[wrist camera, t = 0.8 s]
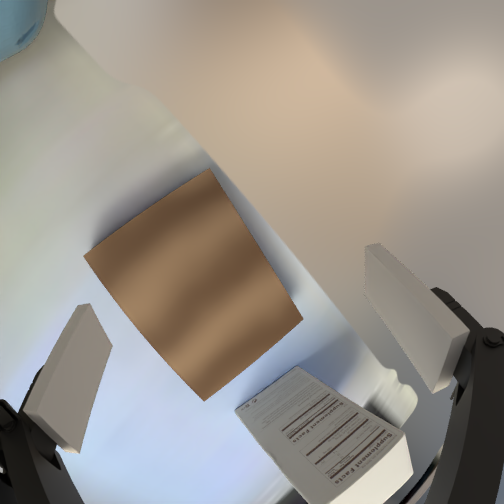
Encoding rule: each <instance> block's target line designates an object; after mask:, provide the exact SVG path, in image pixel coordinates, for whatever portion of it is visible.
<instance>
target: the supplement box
mask: <svg viewBox="0 0 504 504" xmlns="http://www.w3.org/2000/svg"><path fill="white" fill-rule="evenodd" d="M235 413H236V415H237V416H238V418H239V419H240V420H241V422H242V423H243V424H244V425H245V427H246V428H247V429H248V431H249V432H250V433H251V435H252V436H253V437H254V439H255V440H256V441H257V442H258V444H259V445H260V446H261V447H262V449H263V450H264V451H265V452H266V453H267V454H268V455H269V456H270V458H271V459H272V460H273V461H274V462H275V464H276V465H277V466H278V468H279V469H280V470H281V472H282V473H283V474H284V476H285V477H286V478H287V479H288V481H289V482H290V483H291V484H292V485H293V486H294V488H295V489H296V490H297V491H298V492H299V493H300V494H301V496H302V497H303V498H304V499H305V500H306V501H307V502H308V503H309V504H383V503H384V502H385V501H386V500H387V499H388V498H389V497H390V496H392V495H393V494H394V493H395V492H396V491H397V490H398V489H399V488H400V487H401V486H402V485H403V484H404V483H405V482H406V481H407V480H408V479H409V478H410V477H411V476H412V474H413V469H412V464H411V460H410V454H409V450H408V446H407V441H406V436H405V433H404V432H403V431H401V430H399V429H398V428H396V427H394V426H392V425H391V424H389V423H387V422H385V421H384V420H382V419H380V418H379V417H377V416H375V415H373V414H372V413H370V412H369V411H367V410H365V409H364V408H362V407H360V406H359V405H357V404H356V403H354V402H352V401H351V400H349V399H348V398H346V397H344V396H343V395H341V394H340V393H338V392H337V391H335V390H334V389H332V388H330V387H329V386H327V385H326V384H324V383H323V382H321V381H320V380H318V379H317V378H315V377H314V376H312V375H311V374H309V373H308V372H306V371H305V370H303V369H302V368H300V367H299V366H295V367H294V368H293V369H291V370H290V371H289V372H288V373H286V374H285V375H284V376H282V377H281V378H280V379H278V380H277V381H276V382H274V383H273V384H271V385H270V386H269V387H267V388H266V389H265V390H263V391H262V392H260V393H259V394H258V395H256V396H255V397H253V398H252V399H250V400H249V401H248V402H246V403H245V404H243V405H242V406H240V407H239V408H237V409H236V410H235Z"/></svg>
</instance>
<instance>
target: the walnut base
mask: <svg viewBox="0 0 504 504" xmlns="http://www.w3.org/2000/svg"><path fill="white" fill-rule="evenodd" d="M83 257H84V258H85V260H86V261H87V262H88V264H89V265H90V267H91V268H92V270H93V271H94V273H95V274H96V275H97V277H98V278H99V280H100V281H101V282H102V284H103V285H104V287H105V288H106V289H107V291H108V292H109V293H110V295H111V296H112V297H113V299H114V300H115V301H116V303H117V304H118V305H119V306H120V308H121V309H122V310H123V312H124V313H125V314H126V315H127V317H128V318H129V319H130V320H131V322H132V323H133V324H134V325H135V327H136V328H137V329H138V330H139V331H140V333H141V334H142V335H143V336H144V337H145V339H146V340H147V341H148V342H149V343H150V344H151V346H152V347H153V348H154V349H155V350H156V351H157V352H158V354H159V355H160V356H161V357H162V358H163V359H164V360H165V361H166V362H167V364H168V365H169V366H170V367H171V368H172V369H173V370H174V371H175V372H176V373H177V374H178V375H179V376H180V378H181V379H182V380H183V381H184V382H185V383H186V384H187V385H188V386H189V387H190V388H191V389H192V390H193V391H194V392H195V393H196V394H197V395H198V396H199V397H200V398H201V399H202V400H203V401H205V400H207V399H208V398H209V397H211V396H212V395H213V394H215V393H216V392H217V391H219V390H220V389H221V388H222V387H224V386H225V385H226V384H227V383H229V382H230V381H231V380H233V379H234V378H235V377H236V376H238V375H239V374H240V373H241V372H242V371H244V370H245V369H246V368H247V367H249V366H250V365H251V364H252V363H253V362H255V361H256V360H257V359H258V358H259V357H261V356H262V355H263V354H264V353H265V352H267V351H268V350H269V349H270V348H271V347H272V346H274V345H275V344H276V343H277V342H278V341H279V340H281V339H282V338H283V337H284V336H285V335H286V334H287V333H289V332H290V331H291V330H292V329H293V328H294V327H295V326H296V325H298V324H299V323H300V322H301V321H302V320H303V317H302V316H301V314H300V312H299V311H298V309H297V308H296V306H295V304H294V303H293V301H292V299H291V298H290V296H289V295H288V293H287V291H286V290H285V288H284V287H283V285H282V283H281V282H280V280H279V278H278V277H277V275H276V274H275V272H274V270H273V269H272V267H271V265H270V264H269V262H268V261H267V259H266V257H265V256H264V254H263V253H262V251H261V249H260V248H259V246H258V245H257V243H256V241H255V240H254V238H253V237H252V235H251V233H250V232H249V230H248V228H247V227H246V225H245V224H244V222H243V220H242V219H241V217H240V216H239V214H238V212H237V211H236V209H235V208H234V206H233V205H232V203H231V201H230V200H229V198H228V197H227V195H226V193H225V192H224V190H223V189H222V187H221V185H220V184H219V182H218V181H217V179H216V177H215V176H214V174H213V173H212V171H211V170H210V168H209V169H207V170H206V171H204V172H202V173H201V174H199V175H198V176H196V177H194V178H193V179H191V180H190V181H188V182H187V183H185V184H183V185H182V186H180V187H179V188H177V189H176V190H174V191H173V192H171V193H170V194H168V195H167V196H165V197H164V198H162V199H161V200H159V201H158V202H156V203H155V204H153V205H152V206H150V207H149V208H147V209H146V210H145V211H143V212H142V213H140V214H139V215H137V216H136V217H135V218H133V219H132V220H130V221H129V222H128V223H126V224H125V225H123V226H122V227H121V228H119V229H118V230H117V231H115V232H114V233H113V234H111V235H110V236H109V237H107V238H106V239H105V240H103V241H102V242H101V243H99V244H98V245H97V246H95V247H94V248H93V249H92V250H90V251H89V252H88V253H86V254H85V255H84V256H83Z"/></svg>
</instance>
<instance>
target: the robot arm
mask: <svg viewBox="0 0 504 504" xmlns="http://www.w3.org/2000/svg"><path fill="white" fill-rule="evenodd" d="M47 3H48V0H0V62H1V61H3V60H5V59H7V58H9V57H11V56H13V55H14V54H16V53H18V52H20V51H22V50H23V49H25V48H26V47H27V46H28V45H30V44H31V43H32V42H33V40H34V39H35V38H36V36H37V35H38V33H39V32H40V30H41V28H42V25H43V23H44V19H45V15H46V10H47ZM365 297H366V298H367V300H368V301H369V303H370V304H371V305H372V306H373V308H374V309H375V311H376V312H377V313H378V315H379V316H380V318H381V319H382V320H383V322H384V323H385V325H386V326H387V327H388V329H389V330H390V332H391V333H392V334H393V336H394V337H395V339H396V340H397V342H398V343H399V344H400V346H401V347H402V349H403V350H404V352H405V353H406V355H407V356H408V358H409V359H410V360H411V362H412V363H413V365H414V367H415V368H416V370H417V371H418V372H419V374H420V376H421V377H422V379H423V380H424V382H425V383H426V385H427V386H428V388H429V389H430V391H431V392H432V393H435V392H437V391H439V390H441V389H443V388H445V387H447V386H449V384H450V381H451V379H452V377H453V376H454V377H455V378H456V379H457V381H458V382H457V385H456V387H455V389H454V391H453V393H452V395H451V398H450V399H451V400H452V399H453V397H454V400H453V406H452V411H451V416H450V420H449V425H448V429H447V433H446V438H445V441H444V445H443V449H442V453H441V456H440V460H439V463H438V466H437V469H436V473H435V476H434V479H433V482H432V484H431V487H430V490H429V493H428V495H427V499H426V501H425V503H424V504H495V501H496V498H497V493H498V489H499V484H500V480H501V475H502V470H503V464H504V333H503V332H501V331H500V330H498V329H495V328H483V327H482V326H481V325H480V324H479V323H478V322H477V321H476V320H475V319H474V318H473V317H472V316H471V315H470V314H469V313H468V312H467V311H466V310H465V309H464V308H463V307H461V305H460V304H459V303H458V302H457V301H455V299H454V298H453V297H452V296H451V295H450V294H449V293H447V292H445V291H443V290H441V289H439V288H437V287H436V288H433V289H429V288H428V287H427V286H426V285H425V284H424V283H423V282H422V281H421V280H419V278H417V277H416V276H415V275H414V274H413V273H412V272H411V271H410V270H409V269H408V268H407V267H406V266H405V265H404V264H402V263H401V262H400V261H399V260H398V259H397V258H396V257H395V256H394V255H392V254H391V253H390V252H389V251H388V250H387V249H386V248H384V247H383V246H382V245H381V244H380V243H377V244H372V245H368V246H365ZM111 349H112V344H111V342H110V340H109V339H108V337H107V335H106V333H105V331H104V330H103V328H102V326H101V324H100V322H99V320H98V318H97V316H96V314H95V312H94V310H93V309H92V307H91V305H90V303H89V304H83V305H78V306H77V308H76V309H75V311H74V313H73V314H72V316H71V318H70V319H69V321H68V323H67V324H66V326H65V328H64V330H63V331H62V333H61V335H60V337H59V339H58V340H57V342H56V344H55V346H54V348H53V350H52V351H51V353H50V355H49V357H48V359H47V361H46V363H45V365H43V366H42V367H41V369H40V370H39V371H38V372H37V373H36V375H35V377H34V379H33V383H31V386H30V388H29V389H30V390H28V392H27V394H26V396H25V398H24V400H23V403H22V405H21V407H20V409H19V412H18V413H17V412H16V411H15V410H14V409H13V408H12V407H11V406H10V405H9V403H8V402H7V401H5V400H4V399H0V467H1V468H3V473H1V472H0V504H84V502H83V500H82V499H81V497H80V495H79V493H78V491H77V489H76V487H75V486H74V484H73V482H72V480H71V478H70V476H69V474H68V471H67V469H66V467H65V465H64V463H63V461H62V458H61V456H60V454H59V453H58V452H57V451H56V450H55V449H56V445H58V446H60V447H61V448H62V449H63V450H64V451H65V452H71V453H78V454H80V450H81V446H82V443H83V439H84V435H85V431H86V428H87V424H88V420H89V417H90V414H91V410H92V407H93V403H94V400H95V397H96V394H97V391H98V387H99V384H100V381H101V378H102V375H103V372H104V369H105V366H106V363H107V360H108V358H109V355H110V352H111Z"/></svg>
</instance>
